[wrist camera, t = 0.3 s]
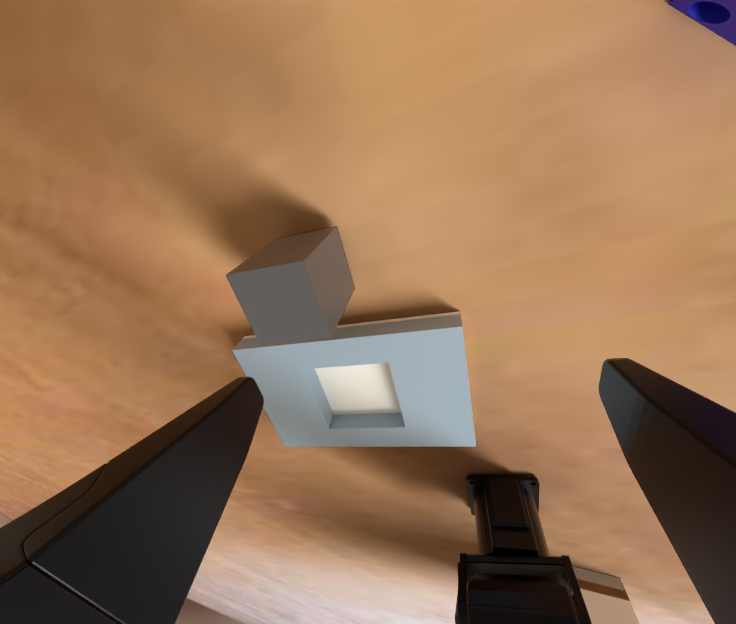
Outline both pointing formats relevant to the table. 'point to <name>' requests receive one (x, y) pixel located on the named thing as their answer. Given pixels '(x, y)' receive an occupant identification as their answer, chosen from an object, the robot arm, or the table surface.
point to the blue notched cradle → (711, 15)
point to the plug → (295, 287)
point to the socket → (368, 384)
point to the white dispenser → (605, 598)
